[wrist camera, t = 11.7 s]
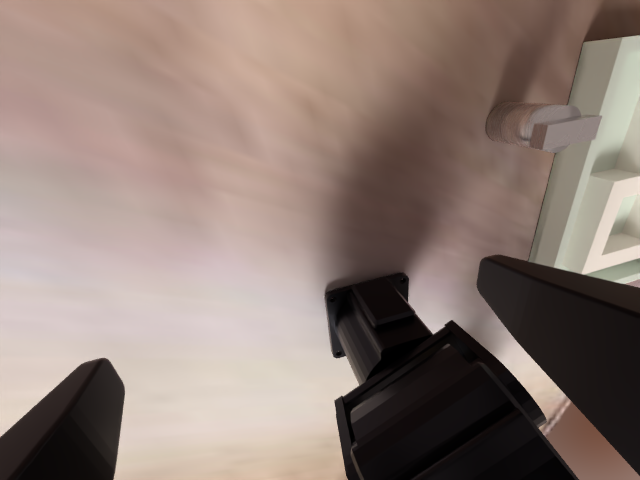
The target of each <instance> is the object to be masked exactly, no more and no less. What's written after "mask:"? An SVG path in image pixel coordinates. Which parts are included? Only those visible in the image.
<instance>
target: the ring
mask: <svg viewBox="0 0 640 480" xmlns="http://www.w3.org/2000/svg"><path fill="white" fill-rule="evenodd" d="M633 195H637V196H636V198H635V201H634V203H633V206H632V208H631V211H630V213H629V216H628V218H627V221H626V223H625V226H624V228H623V231H622V233H618V234H615V235H611V236H609V234H610V232H611V229H612V226H613V224H614V221H615V218H616V216H617V213H618V211H619V208H620V205H621V203H622V200H623V198H625V197H629V196H633ZM637 258H640V96H639V99H638V101H637V104H636V107H635V110H634V113H633V116H632V119H631V121H630V124H629V127H628V130H627V133H626V136H625V139H624V142H623V144H622V147H621V150H620V153H619V156H618V159H617V162H616V164H615V167H614V169H610V170H605V171H601V172H596V173H592V174H590V176H589V180H588V183H587V186H586V189H585V192H584V196H583V199H582V202H581V205H580V208H579V211H578V215H577V218H576V221H575V224H574V227H573V231H572V234H571V237H570V240H569V243H568V246H567V250H566V253H565V256H564V259H563V262H562V265H563V266H565V267H567V268H568V269H570V270H572V271H574V272H576V273H579V274H583V275H584V274H587V273H590V272H594V271H597V270H601V269H604V268H607V267H611V266H614V265H617V264H621V263H624V262H627V261H631V260H634V259H637Z"/></svg>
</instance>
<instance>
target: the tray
mask: <svg viewBox="0 0 640 480" xmlns="http://www.w3.org/2000/svg"><path fill="white" fill-rule="evenodd" d="M639 96H640V35H638V36H630V37H621V38H613V39H605V40H597V41H589V42H583V46H582V50H581V54H580V58H579V62H578V66H577V70H576V74H575V78H574V82H573V86H572V90H571V94H570V98H569V102H568V105H570V106H575V107H577V108H578V109H579V110H580V112H581V115H586V114H589V115H602V119H601V122H600V125H599V128H598V132H597V135H596V138H595V140H591V141H585V142H580V143H575V144H570V145H569V146H568V147H567V148H565V149H564V150H562V151H560V152H557V153H556V154H555V158H554V162H553V165H552V169H551V173H550V177H549V181H548V185H547V189H546V193H545V197H544V201H543V205H542V209H541V213H540V217H539V221H538V225H537V229H536V233H535V237H534V241H533V245H532V249H531V253H530V257H529V261H528V262H533V263H537V264H541V265H545V266H550V267H554V268H558V269H562V270H566V271H571V272H574V271H572V270H570V269H568V268H567V267H565V266H563V265H562V262H563V259H564V256H565V253H566V250H567V246H568V243H569V240H570V237H571V234H572V231H573V227H574V224H575V221H576V218H577V215H578V211H579V208H580V205H581V202H582V199H583V196H584V192H585V189H586V186H587V183H588V180H589V176H590V174H592V173H596V172H601V171H605V170H610V169H614V167H615V164H616V162H617V159H618V156H619V153H620V150H621V147H622V144H623V142H624V139H625V136H626V133H627V130H628V127H629V124H630V121H631V119H632V116H633V113H634V110H635V107H636V104H637V101H638V99H639ZM636 196H637V195H633V196H629V197H625V198H623V200H622V203H621V205H620V208H619V211H618V213H617V216H616V218H615V221H614V224H613V226H612V229H611V232H610V234H609V236H611V235H615V234H618V233H622V231H623V228H624V226H625V223H626V221H627V218H628V216H629V213H630V211H631V208H632V206H633V203H634V201H635V198H636ZM575 273H576V272H575ZM584 275H588V276H592V277H596V278H600V279H604V280H609V281H613V282H617V283H621V284H625V283H628V282H632V281H635V280H638V279H640V258H637V259H634V260H631V261H627V262H624V263H621V264H617V265H614V266H611V267H607V268H604V269H601V270H597V271H594V272H590V273H587V274H584Z"/></svg>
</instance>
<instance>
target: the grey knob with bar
mask: <svg viewBox="0 0 640 480" xmlns="http://www.w3.org/2000/svg"><path fill="white" fill-rule="evenodd" d="M601 119H602V115H589V114H586V115H581V112H580V110H579V109H578V108H577V107H575V106H570V105H553V104H536V103H519V102H503V103H501V104H499V105H497V106H496V107H495V108H494V109H493V110H492V112H491V113H490V115H489V117H488V119H487V123H486V132H487V135H488V137H489V138H490V139H491V140H494V141H498V142H503V143H508V144H513V145H518V146H523V147H527V148H532V149H537V150H542V151H547V152H552V153H557V152H560V151H562V150H564V149H565V148H567V147H568V146H569V145H570V144H575V143H580V142H585V141H591V140H595V138H596V135H597V132H598V128H599V125H600V122H601Z"/></svg>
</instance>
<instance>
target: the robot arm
mask: <svg viewBox="0 0 640 480" xmlns="http://www.w3.org/2000/svg"><path fill="white" fill-rule="evenodd" d="M402 278H403V279H402ZM401 279H402V280H401ZM400 280H401V281H400ZM408 287H409V278H408V276H407V275H406V274H405V273H397V274H394V275H390V276H386V277H382V278H378V279H374V280H371V281H367V282H363V283H359V284H355V285H351V286H348V287H344V288H340V289H336V290H332V291H329V292H328V293H327V294H326V295H325V303H326V311H327V319H328V327H329V335H330V343H331V351H332V354H333V356H334V357H335V358H341V357H344V356H347V359H348V361H349V363H350V365H351V367H352V370H353V372H354V374H355V376H356V379H357V381H358V383H359V386H358V387H357V388H355V389H354V390H352V391H351V392H349V393H348V394H346V395H345V396H341V397H339V398H338V399H336V400H335V407H336V413H337V414H336V418H337V424H338V430H339V436H340V442H341V448H342V454H343V459H344V465H345V471H346V476H347V478H348V480H579V479H578V478H577V477H576V475H575V474H574V473H573V471H572V470H571V469H570V468H569V466H568V465H567V464H566V463H565V461H564V460H563V459H562V458H561V456H560V455H559V454H558V452H557V451H556V450H555V449H554V448H553V446H552V445H551V444H550V442H549V441H548V440H547V439H546V437H545V436H544V435H543V433H542V432H541V431H540V430H539V427H540V426H542V425H543V424H545V423H546V422H547V420H546V417H545V416H544V414H543V412H542V411H541V409H540V408H539V406H538V405H537V403H536V402H535V401H534V399H533V398H532V397H531V395H530V394H529V393H528V392H527V391H526V389H525V388H524V387H523V386H522V385H521V383H520V382H519V381H518V380H517V379H516V378H515V377H514V376H513V374H512V373H511V372H510V371H509V370H508V369H507V368H506V367H505V366H504V365H503V364H502V363H501V362H500V361H499V360H498V359H497V358H496V357H494V356H493V355H492V354H491V353H490V352H489V351H488V350H486V349H485V348H484V347H483V346H482V345H481V344H479V343H478V342H477V341H476V340H475V339H474V338H472V337H471V336H470V335H469V334H468V333H467V332H465V331H464V330H463V329H462V328H461V327H460V326H458V325H457V324H456V323H455V322H454V321H453V320H451V321H450V322H448V323H447V324H445V327H444V328H442V329H441V330H439V331H438V332H436V333H435V334H432V332H431V331H430V330H429V329H428V328H427V327H426V325H425V324H424V323H423V322H422V321H421V319H420V318H419V317H418V316H417V315H416V313H415V311H414V309H413V308H412V307H411V306H410V305H409V303H408ZM477 288H478V291H479V293H480V294H481V295H482V297H483V298H484V299H485V301H486V302H487V303H488V305H489V306H490V307H491V308H492V310H493V311H494V312H495V314H496V315H497V316H498V318H499V319H500V320H501V322H502V323H503V324H504V326H505V327H506V328H507V330H508V331H509V332H510V333H511V335H512V336H513V337H514V338H515V340H516V341H517V342H518V343H519V344H520V345H521V347H522V348H523V349H524V350H525V351H526V352H527V353H528V354H529V355H530V356H531V358H532V359H533V360H534V361H535V362H536V363H537V364H538V365H539V366H540V367H541V368H542V370H543V371H544V372H545V373H546V374H547V375H548V376H549V377H550V378H551V379H552V380H553V382H554V383H555V384H556V385H557V386H558V387H559V388H560V389H561V390H562V391H563V393H564V394H565V395H566V396H567V397H568V398H569V399H570V400H571V401H572V402H573V403H574V405H575V406H576V407H577V408H578V409H579V410H580V411H581V412H582V413H583V414H584V415H585V417H586V418H587V419H588V420H589V421H590V422H591V423H592V424H593V425H594V426H595V427H596V429H597V430H598V431H599V432H600V433H601V434H602V435H603V436H604V437H605V438H606V439H607V441H608V442H609V443H610V444H611V445H612V446H613V447H614V448H615V449H616V450H617V452H619V454H620V455H621V456H622V457H623V458H624V459H625V460H626V461H627V462H628V464H629V465H630V466H631V467H632V468H633V469H634V470H635V471H636V472H637V473H638V475H639V476H640V288H638V287H634V286H630V285H626V284H621V283H617V282H613V281H609V280H604V279H600V278H596V277H592V276H588V275H583V274H579V273H575V272H571V271H566V270H562V269H558V268H554V267H550V266H545V265H541V264H537V263H533V262H528V261H524V260H520V259H516V258H511V257H507V256H503V255H492V256H488V257H485V258H483V259H482V260H481V262H480V266H479V272H478V278H477ZM331 297H334V298H333V299H330V298H331ZM338 351H339V352H338ZM124 397H125V388H124V384H123V382H122V380H121V378H120V377H119V375H118V374H117V372H116V370H115V369H114V367H113V365H112V364H111V362H110V361H109V360H108V359H106V358H100V359H96V360H92V361H88V362H85V363H83V364H81V365H80V366H79V367H77V368H76V369H75V370H74V371H73V372H72V373H71V374H70V375H69V376H68V377H66V378H65V379H64V380H63V381H62V382H61V383H60V384H59V385H58V386H56V387H55V388H54V389H53V390H52V391H51V392H50V393H49V394H48V395H47V396H45V397H44V398H43V399H42V400H41V401H40V402H39V403H38V404H37V405H35V406H34V407H33V408H32V409H31V410H30V411H29V412H28V413H27V414H26V415H24V416H23V417H22V418H21V419H20V420H19V421H18V422H17V423H16V424H14V425H13V426H12V427H11V428H10V429H9V430H8V431H7V432H6V433H5V434H3V435H2V436H1V437H0V480H113V479H114V474H115V468H116V462H117V454H118V446H119V438H120V430H121V422H122V413H123V405H124Z"/></svg>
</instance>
